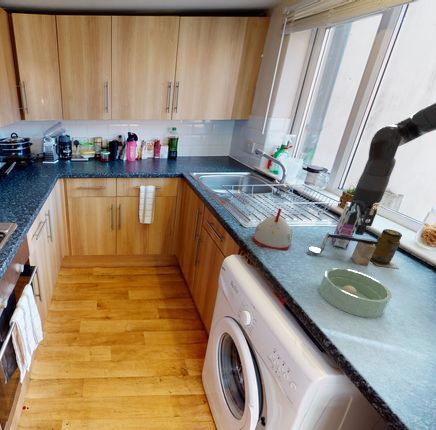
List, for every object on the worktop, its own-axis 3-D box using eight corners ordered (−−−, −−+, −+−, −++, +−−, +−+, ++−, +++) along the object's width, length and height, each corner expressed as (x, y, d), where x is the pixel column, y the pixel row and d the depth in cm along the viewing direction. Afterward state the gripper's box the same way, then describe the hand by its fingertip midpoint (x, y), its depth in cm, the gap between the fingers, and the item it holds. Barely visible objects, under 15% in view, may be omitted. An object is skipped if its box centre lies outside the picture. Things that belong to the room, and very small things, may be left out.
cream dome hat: (249, 244, 117) (257, 210, 111) (255, 231, 128) (263, 200, 121) (287, 254, 110) (299, 220, 104) (290, 240, 121) (301, 207, 114)
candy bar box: (347, 249, 115) (363, 212, 108) (332, 245, 117) (346, 209, 110) (346, 238, 123) (361, 203, 116) (332, 235, 126) (346, 200, 119)
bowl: (369, 291, 91) (377, 274, 89) (392, 326, 78) (402, 307, 75) (312, 279, 96) (319, 263, 94) (325, 310, 83) (333, 293, 80)
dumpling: (351, 282, 86) (355, 292, 84) (356, 287, 88) (360, 298, 85) (337, 285, 89) (341, 295, 86) (343, 290, 90) (346, 300, 88)
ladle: (308, 255, 110) (316, 233, 106) (306, 250, 114) (313, 228, 110) (369, 266, 104) (380, 244, 100) (364, 260, 108) (374, 238, 104)
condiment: (383, 256, 111) (397, 228, 106) (399, 268, 103) (414, 239, 98) (362, 254, 112) (375, 226, 107) (376, 266, 104) (390, 237, 99)
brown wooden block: (360, 258, 109) (369, 239, 105) (366, 267, 104) (376, 247, 100) (351, 257, 110) (359, 238, 106) (356, 265, 105) (365, 245, 101)
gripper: (395, 194, 89) (375, 240, 96) (376, 182, 101) (359, 223, 108) (365, 191, 92) (348, 236, 98) (350, 179, 104) (335, 219, 110)
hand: (354, 229), depth 103 cm, fingers open, 8 cm apart
